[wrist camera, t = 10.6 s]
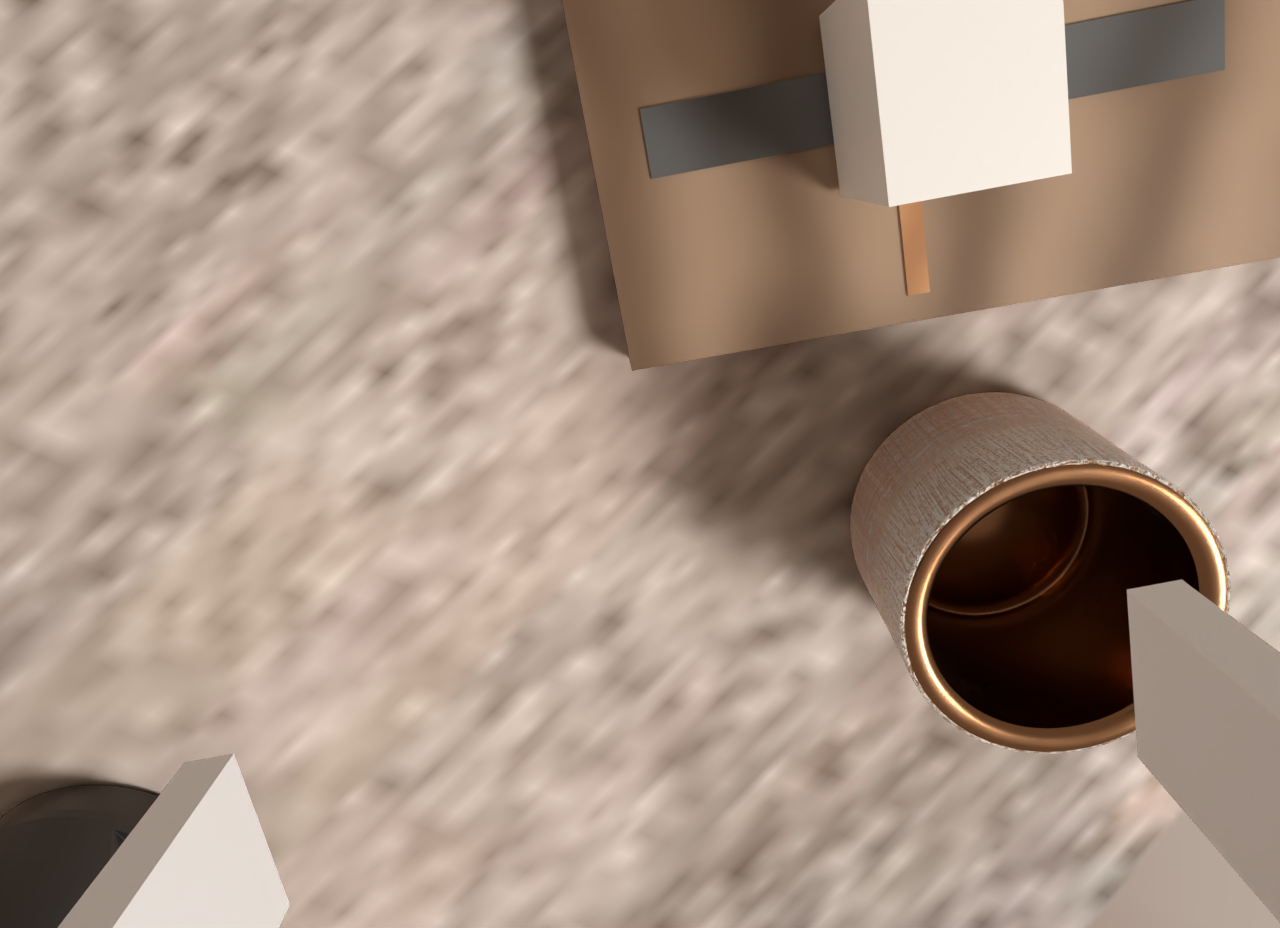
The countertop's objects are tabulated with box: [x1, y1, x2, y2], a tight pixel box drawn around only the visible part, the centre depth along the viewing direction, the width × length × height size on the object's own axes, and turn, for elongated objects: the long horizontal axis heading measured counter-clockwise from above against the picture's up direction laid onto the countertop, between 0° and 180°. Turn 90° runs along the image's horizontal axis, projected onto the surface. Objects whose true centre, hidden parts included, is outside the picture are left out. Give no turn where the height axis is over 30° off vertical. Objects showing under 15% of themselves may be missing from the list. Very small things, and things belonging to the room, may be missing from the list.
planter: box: [850, 392, 1230, 754], centre depth 36 cm, size 11×11×10 cm
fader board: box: [562, 0, 1280, 371], centre depth 35 cm, size 26×16×2 cm, turn 100°
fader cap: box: [819, 0, 1072, 207], centre depth 30 cm, size 5×6×8 cm
